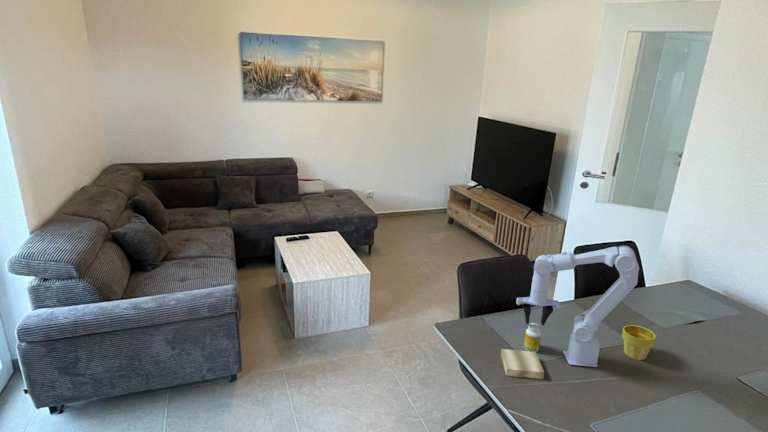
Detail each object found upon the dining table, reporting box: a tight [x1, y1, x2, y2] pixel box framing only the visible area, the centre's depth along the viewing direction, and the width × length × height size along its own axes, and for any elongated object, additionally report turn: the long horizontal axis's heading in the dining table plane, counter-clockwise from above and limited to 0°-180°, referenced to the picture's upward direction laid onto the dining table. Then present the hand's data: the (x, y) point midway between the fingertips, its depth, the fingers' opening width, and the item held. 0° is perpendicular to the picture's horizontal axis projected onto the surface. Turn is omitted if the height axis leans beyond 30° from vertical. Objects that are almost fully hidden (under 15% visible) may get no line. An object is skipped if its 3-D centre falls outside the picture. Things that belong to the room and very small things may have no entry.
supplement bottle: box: [523, 322, 542, 353], centre depth 162 cm, size 5×5×10 cm
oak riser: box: [500, 348, 545, 380], centre depth 152 cm, size 12×12×3 cm
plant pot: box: [621, 324, 657, 361], centre depth 160 cm, size 10×10×10 cm
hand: (534, 323), depth 161 cm, fingers open, 5 cm apart
